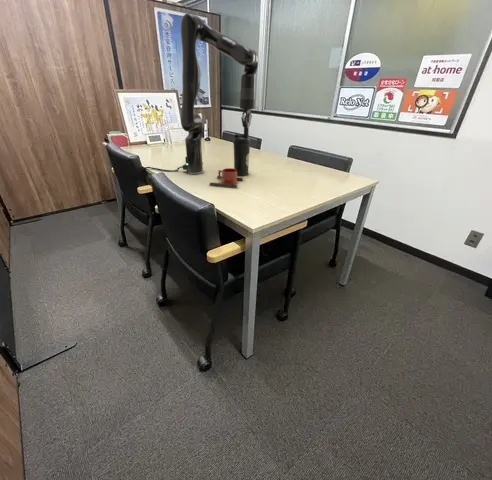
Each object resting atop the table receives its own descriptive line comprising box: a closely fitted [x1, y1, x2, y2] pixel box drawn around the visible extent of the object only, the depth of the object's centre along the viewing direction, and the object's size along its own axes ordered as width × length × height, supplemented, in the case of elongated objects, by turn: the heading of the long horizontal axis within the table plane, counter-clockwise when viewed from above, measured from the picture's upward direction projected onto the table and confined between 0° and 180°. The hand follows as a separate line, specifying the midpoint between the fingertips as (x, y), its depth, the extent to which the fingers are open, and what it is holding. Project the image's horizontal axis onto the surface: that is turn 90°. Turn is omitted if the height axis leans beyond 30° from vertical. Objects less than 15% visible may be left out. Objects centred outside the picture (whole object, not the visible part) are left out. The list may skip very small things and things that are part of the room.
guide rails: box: [209, 175, 244, 189], centre depth 147 cm, size 15×14×2 cm
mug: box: [217, 167, 238, 185], centre depth 146 cm, size 11×8×7 cm
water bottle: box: [232, 133, 252, 177], centre depth 156 cm, size 10×10×23 cm
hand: (246, 135), depth 140 cm, fingers closed
